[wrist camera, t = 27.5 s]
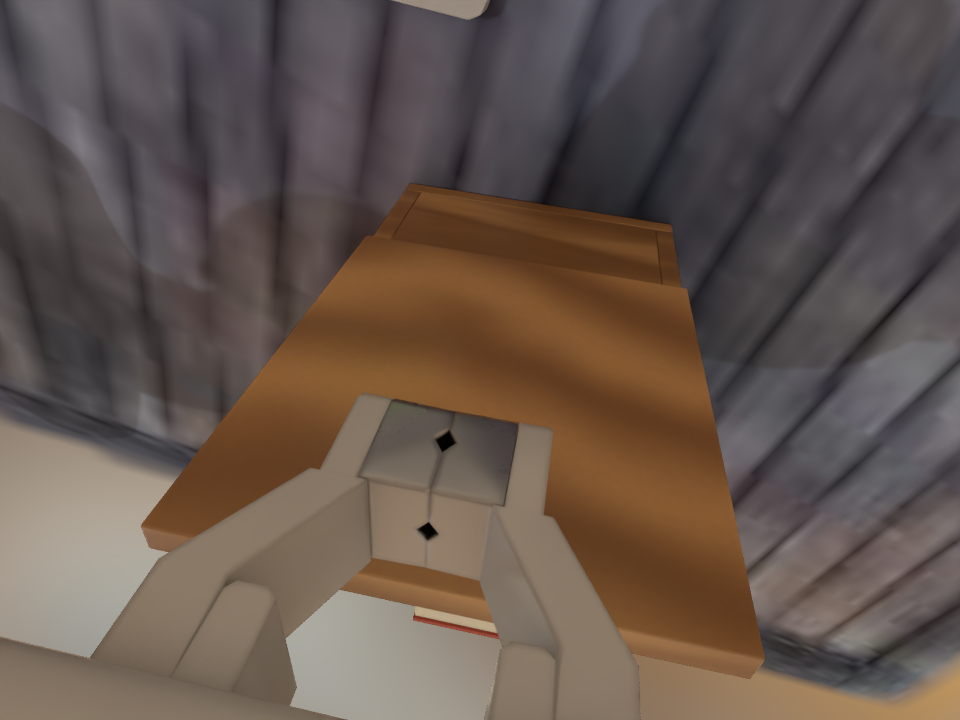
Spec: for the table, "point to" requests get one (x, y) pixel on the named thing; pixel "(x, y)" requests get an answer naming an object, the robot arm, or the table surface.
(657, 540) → the pine box lid
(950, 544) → the table surface
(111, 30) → the table surface
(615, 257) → the pine box
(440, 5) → the handheld gaming console
